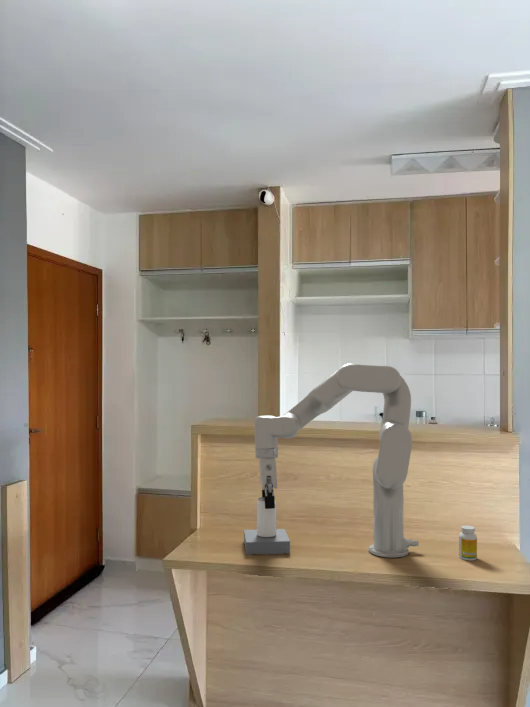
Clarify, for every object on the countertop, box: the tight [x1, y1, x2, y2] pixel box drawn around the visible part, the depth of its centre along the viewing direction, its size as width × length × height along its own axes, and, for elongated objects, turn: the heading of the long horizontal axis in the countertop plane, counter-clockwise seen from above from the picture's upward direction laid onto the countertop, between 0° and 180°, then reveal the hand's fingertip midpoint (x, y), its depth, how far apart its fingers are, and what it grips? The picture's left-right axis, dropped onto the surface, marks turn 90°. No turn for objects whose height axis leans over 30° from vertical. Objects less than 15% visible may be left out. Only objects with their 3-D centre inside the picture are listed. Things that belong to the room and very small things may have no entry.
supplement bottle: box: [458, 525, 478, 562], centre depth 181 cm, size 5×5×10 cm
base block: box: [243, 528, 291, 556], centre depth 191 cm, size 14×14×4 cm
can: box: [256, 496, 277, 538], centre depth 191 cm, size 6×6×12 cm
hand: (268, 504), depth 191 cm, fingers open, 9 cm apart
